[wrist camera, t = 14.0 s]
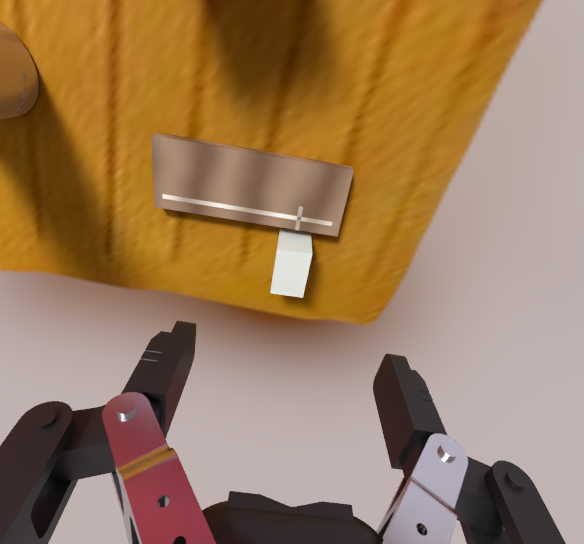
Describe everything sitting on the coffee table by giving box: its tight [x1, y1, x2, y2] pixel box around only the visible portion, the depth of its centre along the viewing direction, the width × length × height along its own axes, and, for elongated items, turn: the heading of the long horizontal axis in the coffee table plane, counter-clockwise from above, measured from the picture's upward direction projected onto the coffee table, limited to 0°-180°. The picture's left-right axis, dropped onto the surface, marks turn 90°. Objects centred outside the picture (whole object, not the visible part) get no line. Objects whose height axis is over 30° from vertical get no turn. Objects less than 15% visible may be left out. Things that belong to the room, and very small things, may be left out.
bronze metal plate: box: [152, 133, 354, 236], centre depth 40 cm, size 22×8×2 cm, turn 81°
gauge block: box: [270, 228, 312, 298], centre depth 42 cm, size 4×6×6 cm, turn 171°
